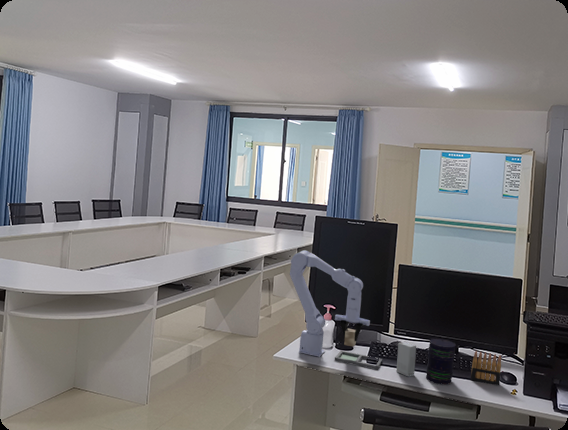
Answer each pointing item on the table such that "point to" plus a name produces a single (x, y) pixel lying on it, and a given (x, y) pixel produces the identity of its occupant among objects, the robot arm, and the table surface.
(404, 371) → the skincare box
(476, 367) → the ammunition clip
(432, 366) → the storage jar
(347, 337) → the birch plug
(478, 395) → the table surface
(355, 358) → the slot holder
